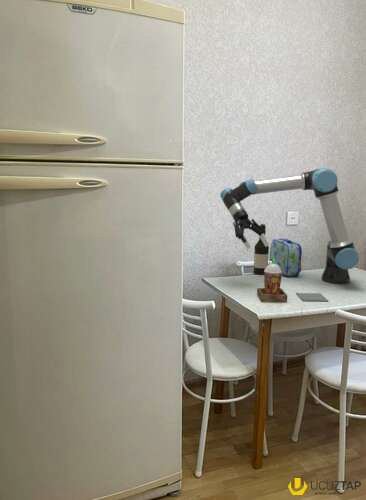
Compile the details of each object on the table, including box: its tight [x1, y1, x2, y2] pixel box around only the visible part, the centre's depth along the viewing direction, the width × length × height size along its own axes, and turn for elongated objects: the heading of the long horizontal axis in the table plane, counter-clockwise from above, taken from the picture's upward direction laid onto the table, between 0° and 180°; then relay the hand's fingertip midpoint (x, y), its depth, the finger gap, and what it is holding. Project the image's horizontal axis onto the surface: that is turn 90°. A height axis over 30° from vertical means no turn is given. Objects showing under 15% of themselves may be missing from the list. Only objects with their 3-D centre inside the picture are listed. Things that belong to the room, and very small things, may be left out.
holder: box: [256, 287, 288, 303], centre depth 194 cm, size 12×12×4 cm
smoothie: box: [263, 258, 283, 295], centre depth 192 cm, size 8×8×20 cm
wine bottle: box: [253, 223, 270, 276], centre depth 242 cm, size 8×8×30 cm
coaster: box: [295, 292, 329, 303], centre depth 196 cm, size 12×12×1 cm
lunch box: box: [269, 238, 303, 277], centre depth 244 cm, size 26×11×21 cm, turn 12°
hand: (258, 246), depth 202 cm, fingers open, 13 cm apart
